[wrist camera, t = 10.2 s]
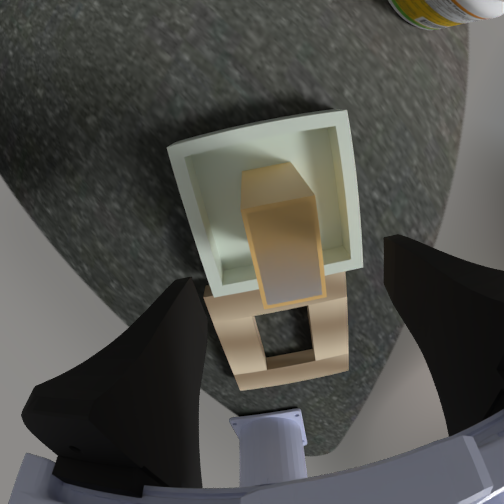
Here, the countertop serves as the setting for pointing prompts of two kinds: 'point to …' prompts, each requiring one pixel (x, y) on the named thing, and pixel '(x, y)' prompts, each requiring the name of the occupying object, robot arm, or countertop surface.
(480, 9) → the supplement bottle
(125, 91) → the countertop surface
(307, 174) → the parts tray
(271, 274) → the tan rectangular block
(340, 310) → the wooden frame
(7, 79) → the countertop surface
